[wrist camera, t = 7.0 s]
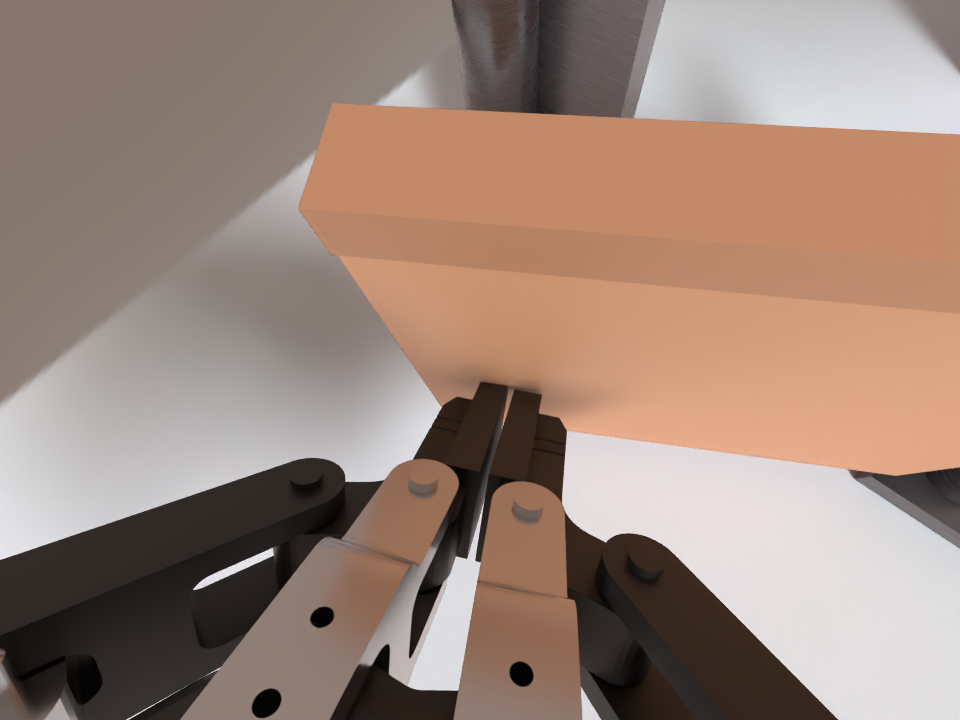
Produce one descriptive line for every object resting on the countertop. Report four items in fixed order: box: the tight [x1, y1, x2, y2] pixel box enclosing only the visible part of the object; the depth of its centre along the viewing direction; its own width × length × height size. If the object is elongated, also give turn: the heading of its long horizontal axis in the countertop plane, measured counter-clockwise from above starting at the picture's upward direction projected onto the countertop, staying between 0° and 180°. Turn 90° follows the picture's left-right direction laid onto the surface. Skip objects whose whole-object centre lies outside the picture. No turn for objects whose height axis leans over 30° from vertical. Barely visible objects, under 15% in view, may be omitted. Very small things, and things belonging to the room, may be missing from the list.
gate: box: [298, 104, 960, 476], centre depth 10 cm, size 14×2×11 cm, turn 81°
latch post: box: [452, 0, 665, 118], centre depth 14 cm, size 6×4×14 cm, turn 50°
